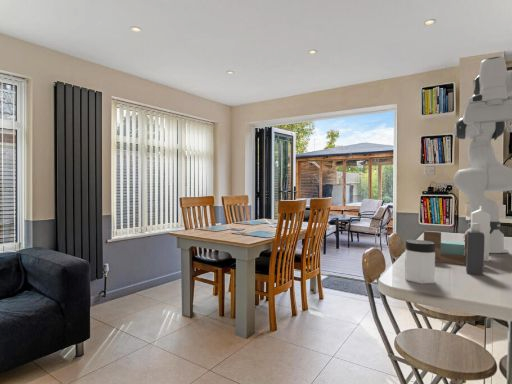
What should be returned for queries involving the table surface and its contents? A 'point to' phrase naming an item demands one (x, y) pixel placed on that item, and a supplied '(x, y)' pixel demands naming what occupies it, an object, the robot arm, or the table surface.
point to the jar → (420, 261)
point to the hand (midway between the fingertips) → (494, 132)
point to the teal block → (452, 247)
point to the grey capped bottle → (475, 250)
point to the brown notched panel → (442, 257)
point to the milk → (483, 228)
